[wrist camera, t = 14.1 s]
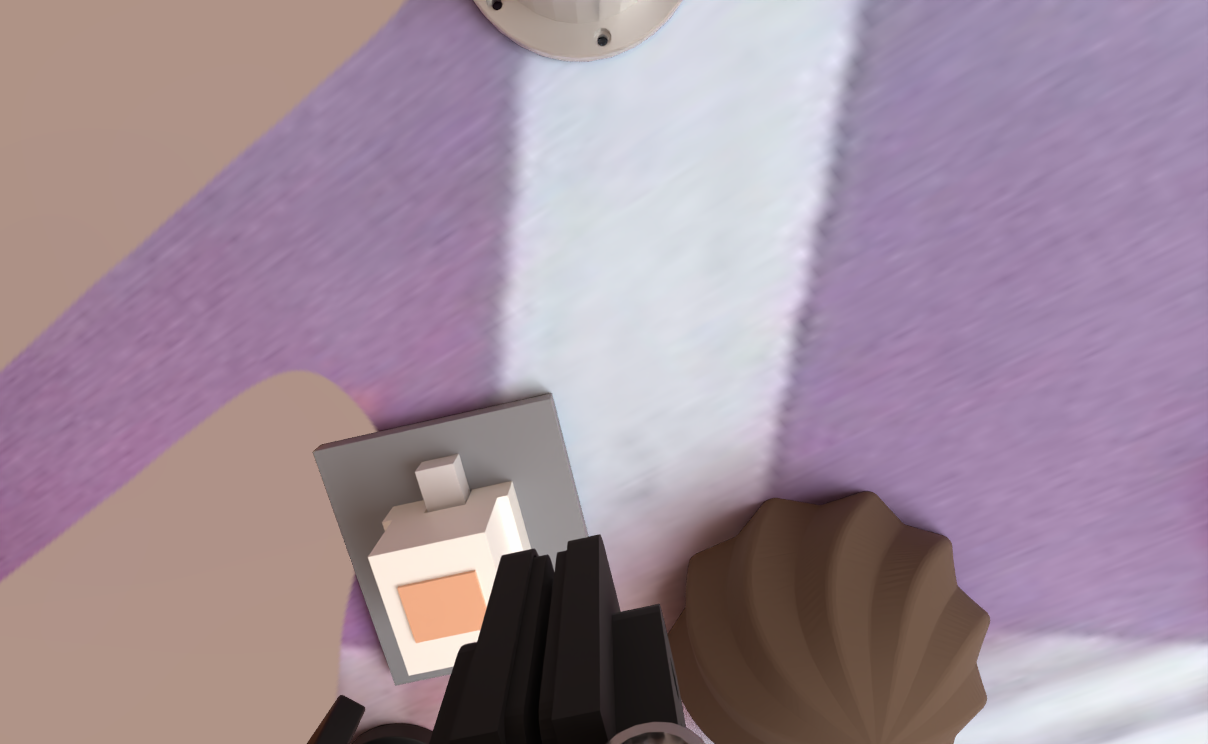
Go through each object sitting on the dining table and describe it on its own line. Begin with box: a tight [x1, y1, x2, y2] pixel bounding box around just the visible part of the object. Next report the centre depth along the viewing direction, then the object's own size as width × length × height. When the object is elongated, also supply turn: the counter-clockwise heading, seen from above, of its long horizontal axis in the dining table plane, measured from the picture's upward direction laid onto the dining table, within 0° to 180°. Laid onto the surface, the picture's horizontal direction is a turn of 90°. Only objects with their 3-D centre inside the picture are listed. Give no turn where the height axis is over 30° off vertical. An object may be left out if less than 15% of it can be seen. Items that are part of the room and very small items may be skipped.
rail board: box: [313, 393, 589, 686], centre depth 39 cm, size 16×14×3 cm
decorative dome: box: [668, 491, 990, 744], centre depth 37 cm, size 19×20×10 cm
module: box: [368, 481, 531, 676], centre depth 36 cm, size 7×7×6 cm
